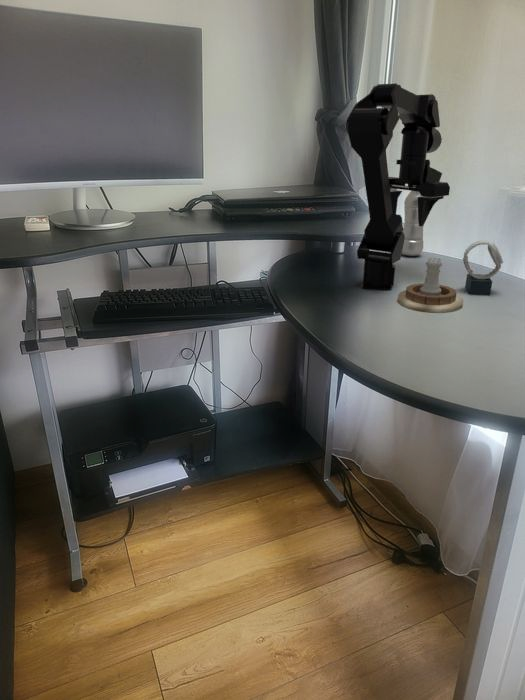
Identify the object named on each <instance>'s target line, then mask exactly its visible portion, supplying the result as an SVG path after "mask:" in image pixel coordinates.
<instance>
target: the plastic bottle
mask: <svg viewBox="0 0 525 700" xmlns="http://www.w3.org/2000/svg"><path fill="white" fill-rule="evenodd" d="M414 188H416V187H414ZM418 197H423V196H421V195H420V193H419V192H418V191H409V193H408V194H407V196H406V197H405V199H404V203H403V205H404V223H403V225H404V226H403V229H404V230H403V233H404V235H405V240H404V245H403V249H402V254H401V255H404V256H408V257H415V256H416V257H417V256H420V255H421V254H422V253H423V250H424V226H425V224H424V225H423V226H419V222H418Z"/></svg>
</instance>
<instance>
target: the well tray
mask: <svg viewBox="0 0 525 700" xmlns="http://www.w3.org/2000/svg"><path fill="white" fill-rule="evenodd" d="M423 284H424V282H422V283H413V284H410V285H408V286H406V289H405V290H403V291H400V292H399V293H398V294H397V302H398V303H399V304H400V305H401V306H402V307H405V308H407V309H410V310H414V311H417V312H418V311H419V312H425V313H440V314H441V313H451V312H456V311H458V310H460V309H462V307H463V304H464V299H463V297H461V296H460V295H458V294H457V291H456V289H455V288H452V287H450V286H447V285H444V284H443V285H442V284H439V285H440V288H441V293H440V294H441V296H431V295H424V294H419V293H420V292H421V291H420V289H421V287H422V286H423Z"/></svg>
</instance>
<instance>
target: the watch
mask: <svg viewBox="0 0 525 700" xmlns="http://www.w3.org/2000/svg"><path fill="white" fill-rule="evenodd" d="M481 245H487V250H488V253H489V255H490V257H491V259H492V261H493V263H494V265H495V267H494V269H492V270H491V271H490V272H489V273H486V274H475V273H473V270H472V269H471V267H470V264H469V259H468V258H469V257H468V254H469V253H470V251H472V250H473V249H475V248H476V247H477V246H478V247H479V246H481ZM464 251H465V252H464V254H463V257H462V260H463V261H462V262H463V265H464V267H465V270H466V271H467V273H466V279H465V283H464V284H465V285H464V288H465V290H466V291H467V293H468V295H471V296H473V295H474V296H491V293H492V285H493V280H492V279H491V278H492V277H494V276H495V275H496V274H497V273H498V272H499V271H500V270H501V268H502V264H503V263H504V261H503V258H502V255H501V253H500V251H499V249H498V247H497V246H496V244H495V242H492V243H491V242H490V241H487V240H478V241H475V242H473V243H471V244H470V245H469V246H468V247H467V248H466V249H465V250H464Z"/></svg>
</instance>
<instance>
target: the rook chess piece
mask: <svg viewBox="0 0 525 700" xmlns="http://www.w3.org/2000/svg"><path fill="white" fill-rule="evenodd" d="M425 266H426V267H427V268H426V269H425V272H426V273H425V274H426V277H425V279H424V282H423V283H424V284H423V286H422V287H421V289H420V291H421V292H420V293H419V294H424V295H431V296H441V294H440V293H441V288H440V285H441V284H440V283H439V281H440V280H439V275H440V274H441V270H440V268H441V267H442V266H443V263H442V259H441V258H438V257H433V258H432V257H429V258H427V261H426V262H425Z"/></svg>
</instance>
